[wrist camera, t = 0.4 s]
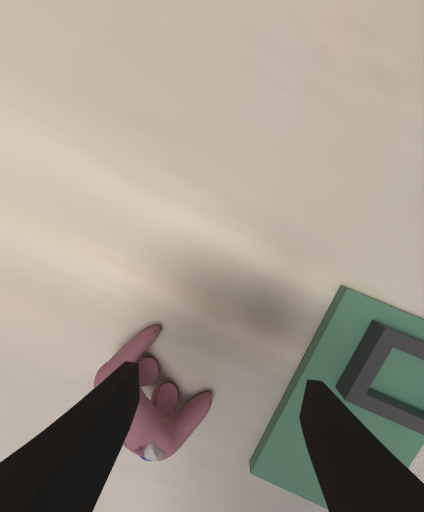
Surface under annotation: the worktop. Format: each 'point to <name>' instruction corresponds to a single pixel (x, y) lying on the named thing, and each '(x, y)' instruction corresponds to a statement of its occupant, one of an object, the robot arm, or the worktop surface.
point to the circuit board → (329, 371)
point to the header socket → (367, 367)
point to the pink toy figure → (155, 404)
